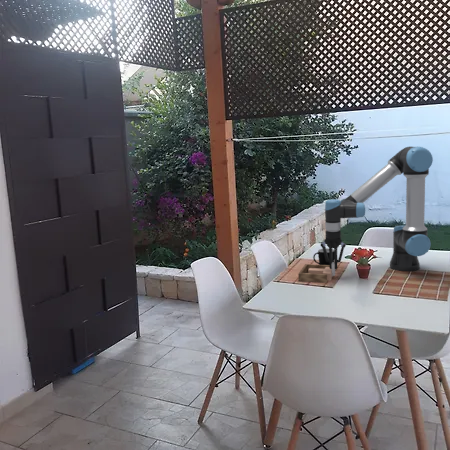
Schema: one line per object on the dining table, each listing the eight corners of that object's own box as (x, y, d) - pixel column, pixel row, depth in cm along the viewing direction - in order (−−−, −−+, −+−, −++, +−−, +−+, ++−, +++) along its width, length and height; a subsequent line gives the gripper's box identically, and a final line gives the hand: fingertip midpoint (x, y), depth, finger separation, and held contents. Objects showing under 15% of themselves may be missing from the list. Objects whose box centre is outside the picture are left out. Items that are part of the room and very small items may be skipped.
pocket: (331, 272, 250) (331, 265, 250) (326, 282, 233) (326, 275, 233) (305, 271, 255) (305, 264, 255) (298, 281, 238) (298, 273, 238)
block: (333, 274, 247) (333, 267, 246) (330, 281, 236) (330, 273, 235) (311, 273, 251) (310, 266, 250) (306, 279, 240) (306, 272, 239)
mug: (336, 266, 261) (336, 249, 259) (332, 270, 254) (332, 252, 252) (316, 264, 267) (315, 247, 265) (311, 268, 259) (310, 251, 258)
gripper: (347, 229, 238) (347, 273, 242) (321, 228, 242) (321, 272, 247) (345, 231, 231) (345, 277, 235) (318, 231, 235) (319, 276, 240)
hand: (333, 275), depth 241 cm, fingers closed
